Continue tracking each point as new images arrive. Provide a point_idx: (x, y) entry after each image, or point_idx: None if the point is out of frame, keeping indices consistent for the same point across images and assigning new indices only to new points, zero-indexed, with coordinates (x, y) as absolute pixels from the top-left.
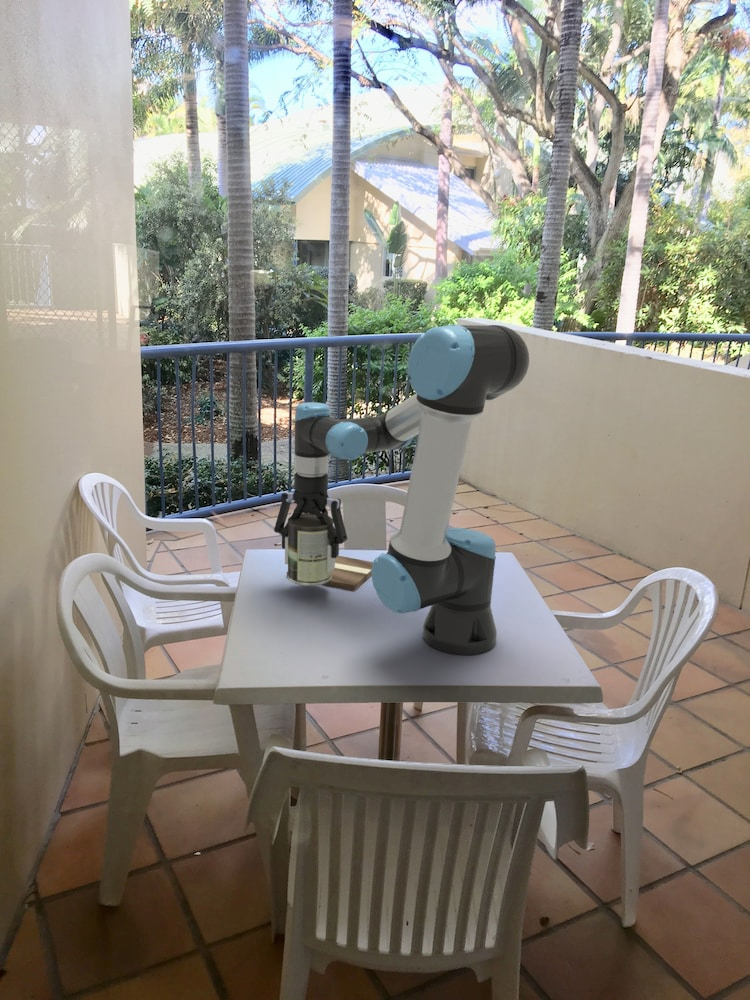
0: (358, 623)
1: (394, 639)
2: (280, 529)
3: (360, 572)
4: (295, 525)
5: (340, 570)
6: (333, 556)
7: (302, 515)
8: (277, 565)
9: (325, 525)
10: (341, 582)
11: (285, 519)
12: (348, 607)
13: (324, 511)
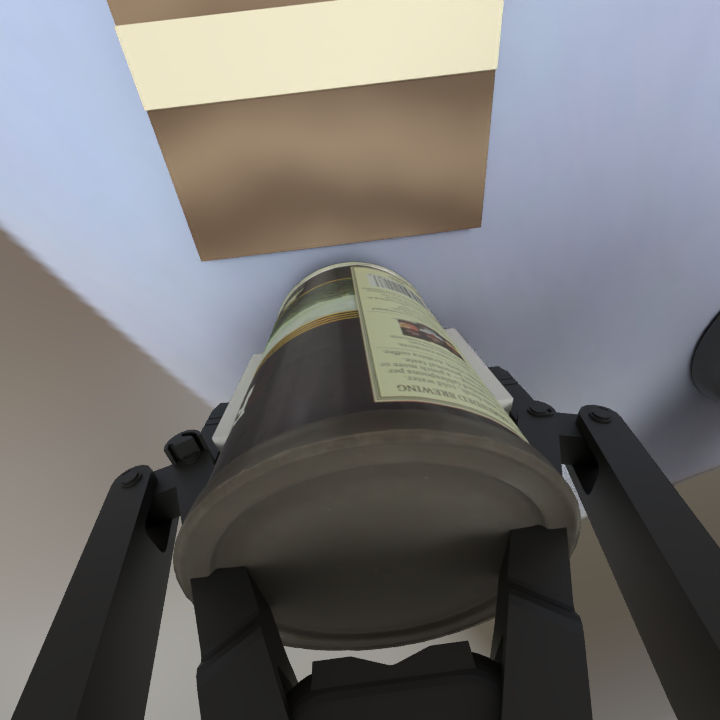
0: (537, 388)
1: (624, 404)
2: (176, 514)
3: (463, 68)
4: (356, 648)
5: (365, 99)
6: None
7: (230, 536)
8: (70, 161)
9: None
10: (427, 230)
11: (135, 546)
12: (490, 334)
13: (552, 659)
